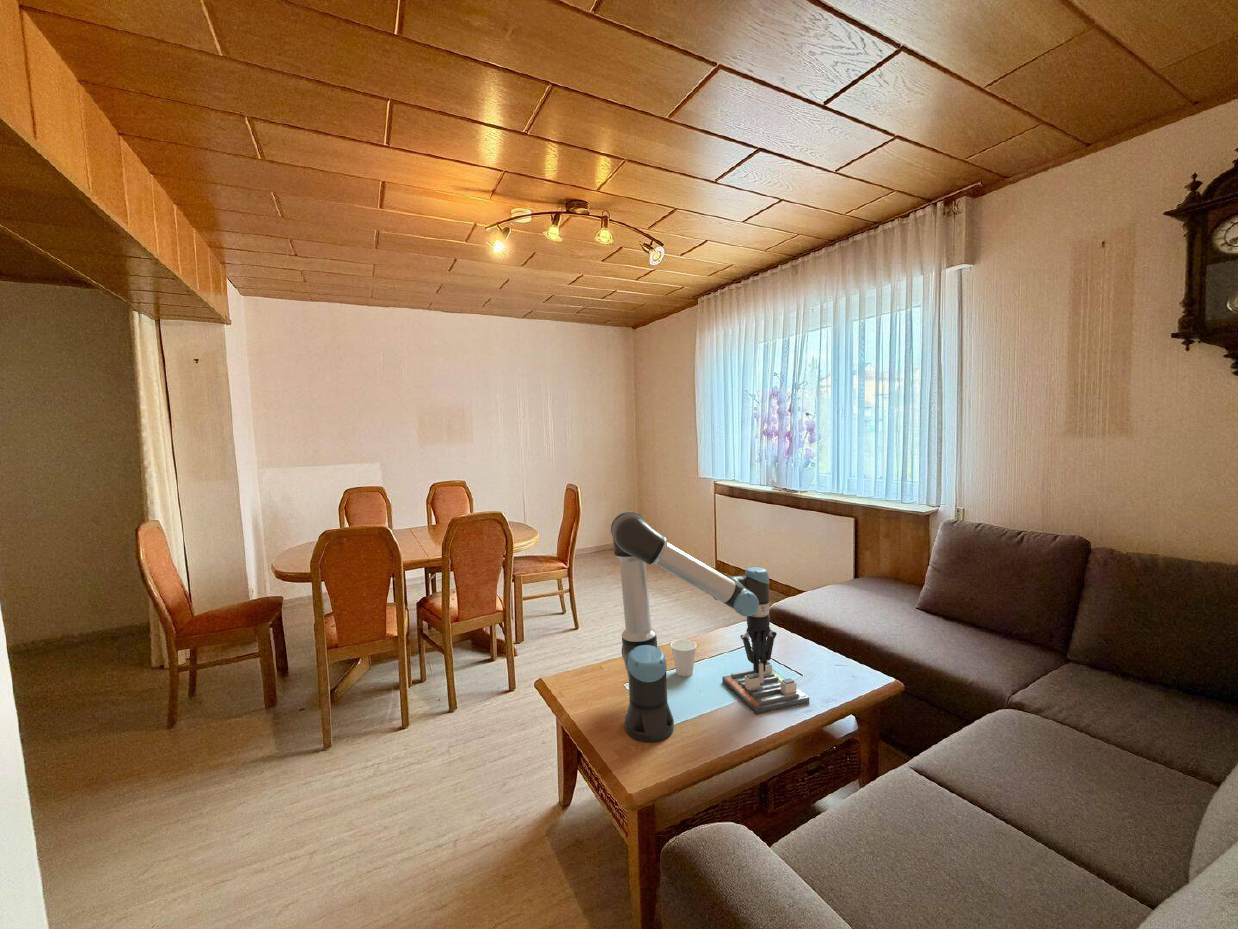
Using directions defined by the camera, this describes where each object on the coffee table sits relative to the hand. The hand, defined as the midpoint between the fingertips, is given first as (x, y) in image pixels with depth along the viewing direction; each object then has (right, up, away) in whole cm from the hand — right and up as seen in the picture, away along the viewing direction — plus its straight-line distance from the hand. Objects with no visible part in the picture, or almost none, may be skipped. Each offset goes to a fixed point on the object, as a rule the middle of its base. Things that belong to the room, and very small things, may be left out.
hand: (759, 681), depth 167 cm
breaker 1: (-3, -2, -1) cm, 4 cm away
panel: (+2, -4, +1) cm, 4 cm away
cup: (-24, -5, +16) cm, 29 cm away
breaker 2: (+4, -1, +9) cm, 10 cm away
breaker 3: (+8, -2, -5) cm, 10 cm away
